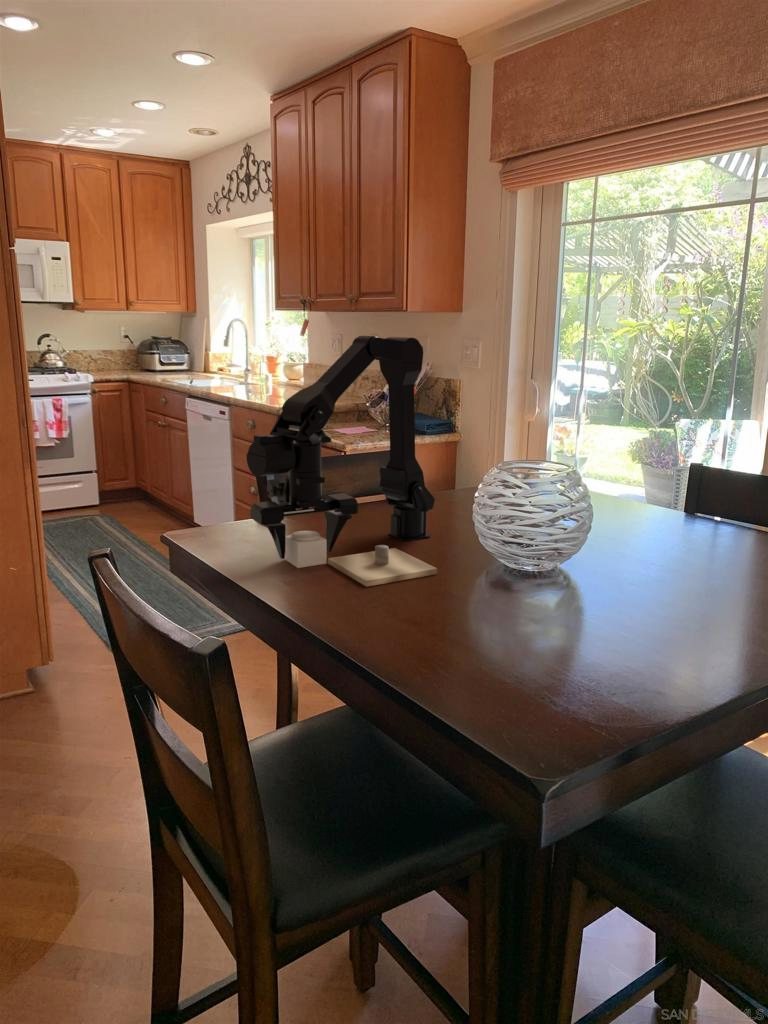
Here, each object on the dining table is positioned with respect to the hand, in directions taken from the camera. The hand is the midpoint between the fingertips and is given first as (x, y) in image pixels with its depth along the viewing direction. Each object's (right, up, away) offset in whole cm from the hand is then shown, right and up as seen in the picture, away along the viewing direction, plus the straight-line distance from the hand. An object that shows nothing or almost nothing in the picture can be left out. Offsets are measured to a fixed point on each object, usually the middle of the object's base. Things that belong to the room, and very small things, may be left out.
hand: (305, 554), depth 136 cm
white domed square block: (0, -1, 0) cm, 1 cm away
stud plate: (+14, -2, -3) cm, 14 cm away
